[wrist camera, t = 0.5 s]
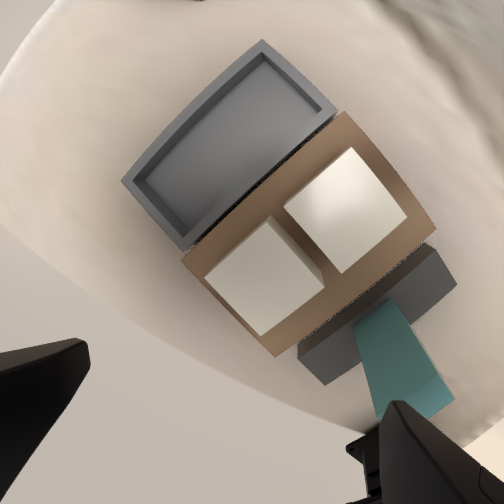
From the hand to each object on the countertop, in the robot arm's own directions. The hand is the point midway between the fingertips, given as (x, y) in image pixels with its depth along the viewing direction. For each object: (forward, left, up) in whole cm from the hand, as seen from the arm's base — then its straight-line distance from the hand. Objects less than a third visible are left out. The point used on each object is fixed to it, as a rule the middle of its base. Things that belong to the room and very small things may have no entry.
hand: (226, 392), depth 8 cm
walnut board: (0, -3, -13) cm, 13 cm away
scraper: (-7, -3, -13) cm, 15 cm away
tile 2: (0, -1, -10) cm, 10 cm away
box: (+7, -3, -13) cm, 15 cm away
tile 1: (0, -6, -10) cm, 11 cm away
